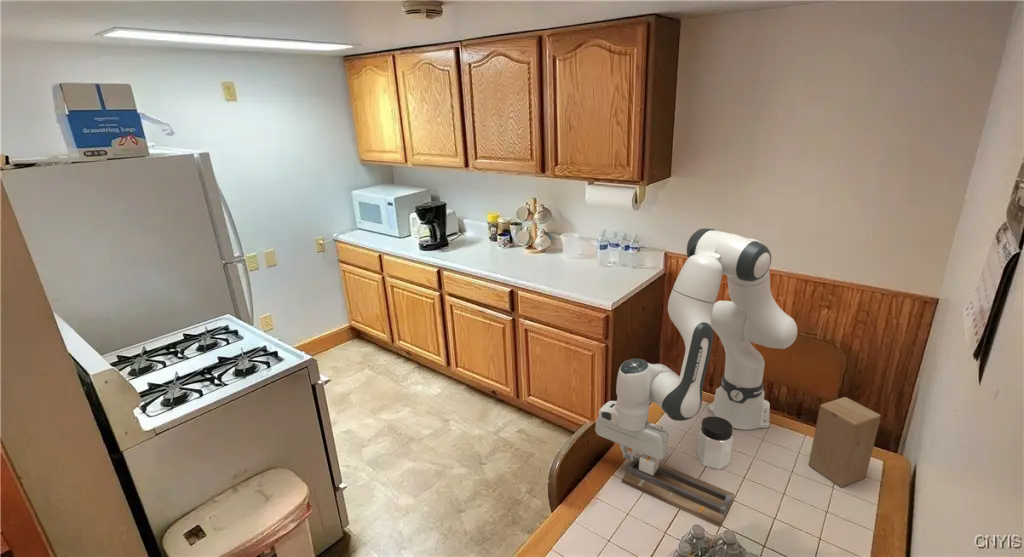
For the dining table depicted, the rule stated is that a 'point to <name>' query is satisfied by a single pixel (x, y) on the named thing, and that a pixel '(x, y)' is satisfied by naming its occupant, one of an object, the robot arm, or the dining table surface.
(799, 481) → the dining table surface
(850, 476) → the wooden block
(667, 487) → the slider track
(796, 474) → the dining table surface
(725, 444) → the jar
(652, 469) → the fader knob
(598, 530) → the dining table surface
